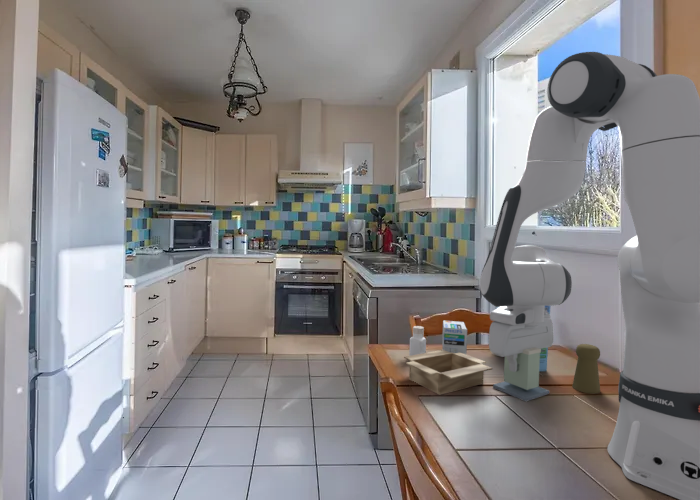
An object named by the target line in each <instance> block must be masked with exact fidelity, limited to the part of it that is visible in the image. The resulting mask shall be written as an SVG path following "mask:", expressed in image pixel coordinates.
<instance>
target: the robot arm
mask: <svg viewBox="0 0 700 500" xmlns="http://www.w3.org/2000/svg"><path fill="white" fill-rule="evenodd" d="M546 92H547V93H546V94H547V100H548V102H549V104H550V106H548V107H547V108H545V109H543V110H542V111H540V112H539V113H538V115H537V116H536V117H535V119H534V123H533V126H532V130H531V132H530V133H531V134H530V136H529V140H528V147H527V152H526V160H525V166H524V170H523V173H522V175H521V177H520V179H519V181H518V182H517V184H516V185H514V186H512V187H510V188H509V189H508V190H507V192H506V194H505V196H504V199H503V202H502V205H501V207H500V212H499V215H498V217H497V222H496V225H495V229H494V233H493V236H492V240H491V244H490V249H489V251H488V255H487V258H486V260H485V263H484V265H483V268H482V271H481V274H480V278H479V291H480V294H481V296H482V297H483V298H484V299H485V300H486V301H487V302H488V303H489V304H491V305H492V306H494V307H498V308H497V309H495V308H494V310H492V311H490V314H489V319H490V321H492V322H491V324H490V326H489V333H488V334H489V337H488V348H489V351H490V353H491V354H492V355H495V356H498V357H502V358H503V357H504V358H505V356H506V358H507V360H508V362H509V370H510V371H513V372H516V371H519V364H517V361H516V358H517V354H519V353H523V350H525V349H530V348H535V347H536V348H539V349H542V348H547V347H548V348H551V347H552V346H553V344H554V324H553V321H552V319H551V313H550V314H549V313H548V312H547V310H545V306H552V307H554V306H560V305H561V304H563V303H564V302H566V301H567V300H568V298H569V297H570V295H571V292H572V286H573V285H572V284H573V283H572V276H571V274H570V272H569V271H568V269H567V268H566V267H565V266H564V265H563V264H561V263H557V262H555V261H553V260H552V259H550V258H549V257H548V256H547V254H546V250H545V248H544V247H543V246H540V245H533V244H524V245H517V244H516V243H517V240H518V237H519V233H520V229H521V227H522V225H523V224H524V222H525V221H526V220H527V219H529V217H532V216H533V215H535V214H537V213H539V212H542V211H545V210H547V209H550V208H553V207H556V206H558V205H561V204H563V203H565V202H567V201H569V200H570V199H571V198H573V196H575V195H576V193H578V192H579V190H580V189H581V187H582V184H583V182H584V179H585V174H586V165H587V156H588V149H589V148H588V147H589V143H590V139H591V137H592V136H593V134H594V133H595V132H596V131H597V130H600V131H603V132H606V131H609V130H613V129H614V128H618V132H619V139H620V140H619V141H620V159H621V160H620V161H621V172H622V173H621V174H622V188H623V198H624V201H625V202H626V204H627V206H628V208H629V209H628V210H629V211H630V215H631V218H632V222H633V225H634V229H635V233H636V235H635V236H633V237H631V238H630V239H629V240H628V241H626V242H625V244H623V245H622V246H621V248H620V249H619V252H618V254H617V259H616V261H617V266H618V267H617V268H618V270H619V278H620V279H619V282H620V294H621V302H622V309H623V311H622V312H623V317H624V318H623V319H624V343H623V344H624V346H623V348H624V349H623V364H622V365H623V366H622V367H623V368H622V369H623V370H621V371H620V373H619V380H618V381H619V382H618V389H617V391H618V402H619V409H618V414H617V419H616V423H615V427H614V430H613V434H612V436H611V439H610V441H609V442H608V445H607V452H608V454H609V456H610V457H611V458H612V459H613V460H614V462H616V463H617V464H618V465H619V466H620V467H621V470H622V472H623V475H624V476H625V477H626V478H627V479H629V480H630V481H633V482H635V483H637V484H641V486H642V485H643V486H645V487H647V488H650V489H653V490H655V491H657V492H660V493H662V494H665V495H668V496H670V497H673V498H675V499H678V500H700V96H699V95H700V94H699V92H698V90H697V87H696V85H695V83H694V81H693V80H692V79H691V78H689V77H688V76H686V75H683V74H679V73H678V74H676V73H666V74H660V75H657V73H655V71H654V70H652V69H651V68H650V67H648V66H647V65H644V64H641V63H637V62H635V61H632V60H630V59H628V58H625V57H623V56H619V55H615V54H607V53H606V54H605V53H602V52H599V51H583V52H578V53H574V54H572V55H569V56H567V57H566V58H564V59H563V60H562V61H560V63H558V65H557V66H556V67H555V68H554V70H553V71H552V74H551V75H550V77H549V80H548V83H547V89H546ZM516 245H517V246H516Z"/></svg>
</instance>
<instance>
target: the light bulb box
mask: <svg viewBox="0 0 700 500" xmlns="http://www.w3.org/2000/svg"><path fill="white" fill-rule="evenodd" d="M467 341H468V328H467V327H466V323H465V322H464V321H455V320H454V321H453V320H443V321H442V345H441V347H442V349H441V350H445V351H448V352H450V353H451V352H452V353H459V352H460V353H463V354H466V355H467V346H468V342H467Z"/></svg>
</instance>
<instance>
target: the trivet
mask: <svg viewBox="0 0 700 500" xmlns="http://www.w3.org/2000/svg"><path fill="white" fill-rule="evenodd" d="M492 388H493V389H495V390H498V391H500V392H501V393H505V394H507V395H510V396H512V397H513V398H514V397H515V398H517V399H519V400H522V401H524V402H527V401H531V400H534V399H538V398H540V397H543V396H547V395H549V394H550V390H549V389H546V388H543V387H541V386H539V387H535V388H532V389H528V390H526V389H523V388H521V387H518V386H516V385H513V384H510V383H508V382H505V381H504V380H503V381H501V382H498V383H493V385H492Z"/></svg>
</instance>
